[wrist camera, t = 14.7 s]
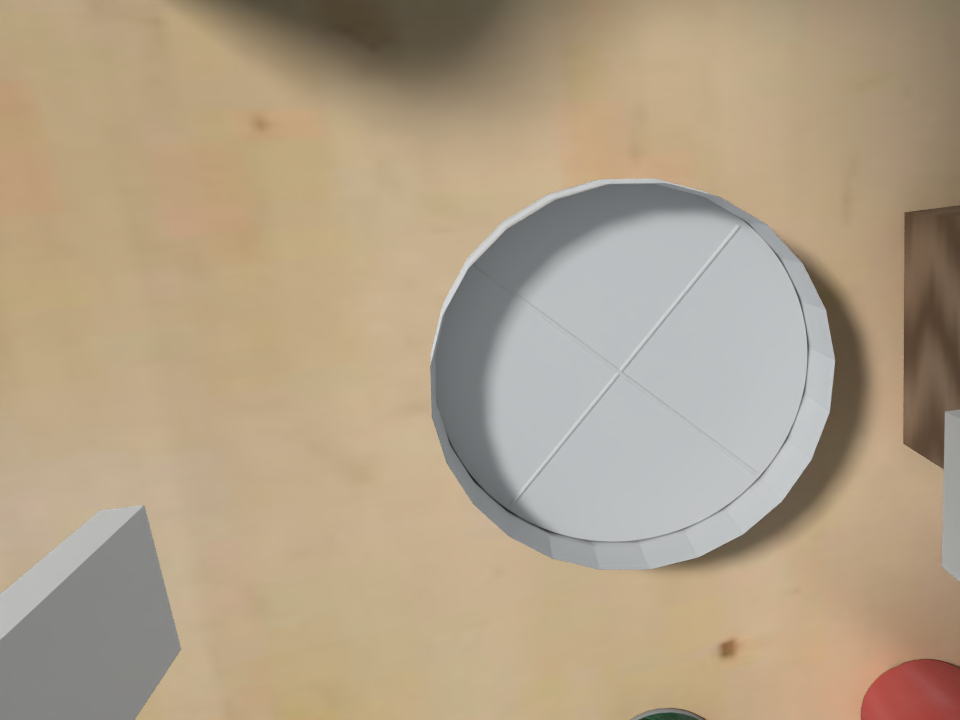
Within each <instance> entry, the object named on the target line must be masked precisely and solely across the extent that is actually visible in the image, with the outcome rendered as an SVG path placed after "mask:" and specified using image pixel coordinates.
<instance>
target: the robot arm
mask: <svg viewBox="0 0 960 720" xmlns="http://www.w3.org/2000/svg"><path fill="white" fill-rule="evenodd" d="M942 567H943V568H944V569H945V570H946V571H947V572H949V573H950V574H951V575H952V576H953V577H954V578H956V579H957V580H958V581H959V582H960V410H953V411H945V433H944V485H943V537H942ZM180 650H181V647H180V643H179V639H178V635H177V631H176V627H175V623H174V619H173V616H172V612H171V608H170V604H169V600H168V596H167V592H166V588H165V584H164V580H163V577H162V573H161V569H160V565H159V561H158V557H157V553H156V549H155V545H154V541H153V538H152V534H151V530H150V526H149V522H148V518H147V514H146V510H145V506H144V505H142V506H134V507H125V508H116V509H108V510H100V511H99V512H97V513H96V514H95V515H94V516H93V517H91V518H90V519H89V520H88V521H87V522H85V523H84V524H83V525H82V526H81V527H80V528H78V529H77V530H76V531H75V532H74V533H72V534H71V535H70V536H69V537H68V538H66V539H65V540H64V541H63V542H62V543H61V544H59V545H58V546H57V547H56V548H55V549H53V550H52V551H51V552H50V553H49V554H48V555H46V556H45V557H44V558H43V559H42V560H40V561H39V562H38V563H37V564H36V565H34V566H33V567H32V568H31V569H30V570H29V571H27V572H26V573H25V574H24V575H23V576H21V577H20V578H19V579H18V580H17V581H15V582H14V583H13V584H12V585H11V586H10V587H8V588H7V589H6V590H5V591H4V592H2V593H1V594H0V720H135V718H136V717H137V715H138V714H139V712H140V711H141V709H142V708H143V706H144V705H145V703H146V702H147V700H148V699H149V697H150V696H151V694H152V693H153V691H154V690H155V688H156V687H157V685H158V684H159V682H160V681H161V679H162V678H163V676H164V675H165V673H166V671H167V670H168V668H169V667H170V665H171V664H172V662H173V661H174V659H175V658H176V656H177V655H178V653H179V652H180Z"/></svg>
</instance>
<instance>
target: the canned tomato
mask: <svg viewBox="0 0 960 720" xmlns="http://www.w3.org/2000/svg"><path fill="white" fill-rule="evenodd" d="M631 720H704V719H703V718H701V717H699V716H697V715H696V714H694V713H691V712H688V711H685V710H680V709H672V708H666V709H656V710H651V711H647V712H645V713H642V714H640V715H637V716H636V717H634V718H633V719H631Z"/></svg>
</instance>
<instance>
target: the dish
mask: <svg viewBox="0 0 960 720" xmlns="http://www.w3.org/2000/svg"><path fill="white" fill-rule="evenodd" d="M834 368H835V357H834V351H833V346H832V340H831V335H830V329H829V324H828V318H827V313H826V309H825V307H824V305H823V303H822V301H821V299H820V297H819V295H818V293H817V291H816V289H815V287H814V285H813V283H812V281H811V279H810V277H809V275H808V273H807V271H806V269H805V267H804V265H803V263H802V262H801V261H800V260H799V259H798V258H797V257H796V256H795V254H794V253H793V252H792V251H791V250H790V249H789V248H788V247H787V246H786V245H785V244H784V243H783V241H782V240H781V239H780V238H779V237H778V236H777V235H776V234H775V233H774V232H773V231H772V230H771V229H770V227H769V226H768V225H767V224H765V223H763V222H762V221H760V220H758V219H757V218H755V217H753V216H751V215H750V214H748V213H746V212H745V211H743V210H741V209H740V208H738V207H736V206H734V205H733V204H731V203H729V202H728V201H726V200H724V199H723V198H721V197H718V196H714V195H711V194H709V193H707V192H705V191H701V190H697V189H693V188H689V187H686V186H682V185H678V184H674V183H670V182H666V181H662V180H659V179H601V180H595V181H591V182H588V183H584V184H581V185H578V186H574V187H571V188H567V189H564V190H560V191H557V192H554V193H550V194H547V195H545V196H543V197H542V198H540V199H538V200H537V201H535V202H533V203H532V204H530V205H528V206H527V207H525V208H524V209H522V210H520V211H519V212H517V213H515V214H514V215H512V216H510V217H509V218H507V219H505V220H504V221H502V222H501V223H500V224H499V226H498V227H497V228H496V229H495V230H494V231H493V232H492V233H491V234H490V235H489V236H488V237H487V238H486V239H485V240H484V241H483V242H482V243H481V244H480V245H479V246H478V247H477V248H476V249H475V250H474V251H473V252H472V253H471V255H470V256H469V257H468V258H467V260H466V262H465V264H464V265H463V267H462V269H461V271H460V273H459V275H458V276H457V278H456V280H455V282H454V284H453V286H452V287H451V289H450V291H449V293H448V295H447V297H446V299H445V301H444V303H443V306H442V310H441V314H440V318H439V322H438V326H437V330H436V334H435V339H434V343H433V347H432V351H431V366H430V371H431V404H432V418H433V422H434V425H435V428H436V431H437V434H438V437H439V440H440V443H441V447H442V450H443V453H444V456H445V459H446V462H447V464H448V466H449V467H450V469H451V470H452V472H453V474H454V475H455V477H456V478H457V480H458V481H459V483H460V484H461V486H462V487H463V489H464V490H465V492H466V494H467V495H468V497H469V498H470V500H471V501H472V503H473V504H474V505H475V506H476V507H477V508H478V509H479V510H480V511H482V512H483V513H484V514H485V515H486V516H487V517H488V518H489V519H490V520H491V521H493V522H494V523H495V524H496V525H497V526H498V527H499V528H500V529H501V530H503V531H504V532H505V533H506V534H507V535H508V536H509V537H511V538H513V539H515V540H517V541H519V542H521V543H523V544H525V545H527V546H529V547H531V548H533V549H535V550H537V551H539V552H540V553H542V554H544V555H546V556H548V557H550V558H552V559H556V560H561V561H565V562H569V563H573V564H578V565H582V566H586V567H590V568H595V569H599V570H650V569H654V568H658V567H662V566H666V565H670V564H674V563H678V562H682V561H686V560H690V559H694V558H698V557H700V556H702V555H704V554H706V553H708V552H710V551H712V550H714V549H716V548H718V547H719V546H721V545H723V544H725V543H727V542H729V541H731V540H733V539H735V538H737V537H739V536H741V535H743V534H744V533H745V532H747V531H748V530H749V529H750V528H751V527H752V526H754V525H755V524H756V523H757V522H758V521H759V520H761V519H762V518H763V517H764V516H765V515H766V514H768V513H769V512H770V511H771V510H772V509H774V508H775V507H776V506H777V505H778V504H779V503H781V502H782V501H783V499H784V498H785V496H786V495H787V494H788V492H789V491H790V489H791V488H792V486H793V485H794V484H795V482H796V481H797V479H798V478H799V477H800V475H801V474H802V472H803V471H804V470H805V468H806V467H807V465H808V464H809V462H810V461H811V460H812V457H813V454H814V452H815V449H816V447H817V444H818V441H819V439H820V436H821V434H822V431H823V428H824V426H825V423H826V421H827V418H828V415H829V413H830V406H831V396H832V387H833V377H834Z"/></svg>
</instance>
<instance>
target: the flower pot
mask: <svg viewBox="0 0 960 720" xmlns="http://www.w3.org/2000/svg"><path fill="white" fill-rule="evenodd" d="M861 720H960V669H959V668H957V667H955V666H953V665H951V664H948V663H946V662H943V661H938V660H929V659H920V660H913V661H909V662H905V663H903V664H901V665H900V666H898V667H896V668H892V669H890V670H888V671H886V672H885V673H883V674H882V675H881V676H879V677H878V678H877V679H876V680H875V681H874V682H873V684H872V685H871V686H870V688H869V689H868V691H867V692H866V694H865V697H864V699H863V703H862V707H861Z"/></svg>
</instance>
